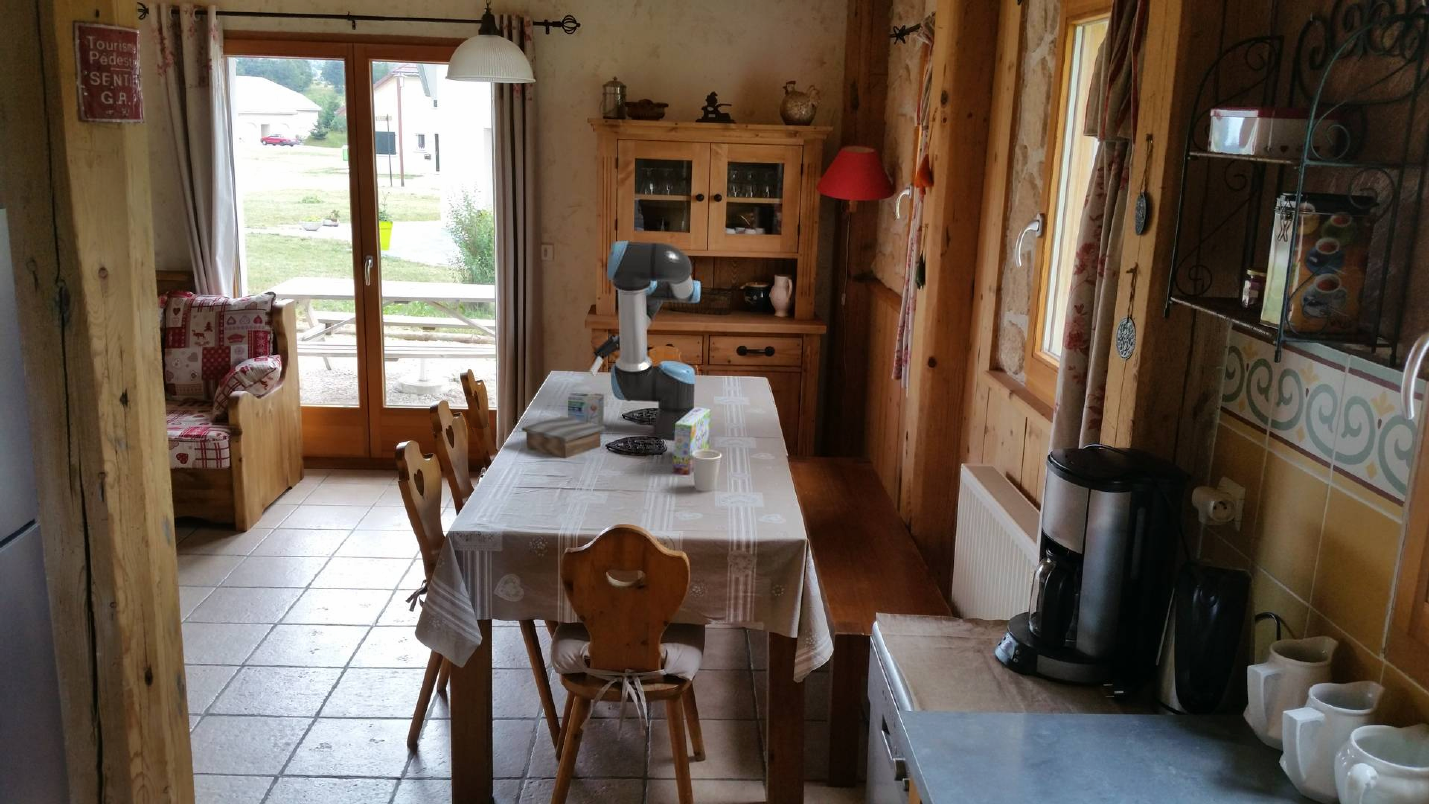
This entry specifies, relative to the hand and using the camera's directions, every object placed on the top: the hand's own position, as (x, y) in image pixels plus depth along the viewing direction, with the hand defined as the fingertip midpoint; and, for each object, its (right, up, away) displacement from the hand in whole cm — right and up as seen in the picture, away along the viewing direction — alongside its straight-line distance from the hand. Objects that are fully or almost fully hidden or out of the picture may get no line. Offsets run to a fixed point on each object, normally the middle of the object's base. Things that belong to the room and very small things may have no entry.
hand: (607, 377), depth 362 cm
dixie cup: (+34, -33, -63) cm, 78 cm away
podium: (-10, -22, -30) cm, 38 cm away
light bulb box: (-7, -17, -5) cm, 19 cm away
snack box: (+29, -27, -42) cm, 58 cm away
